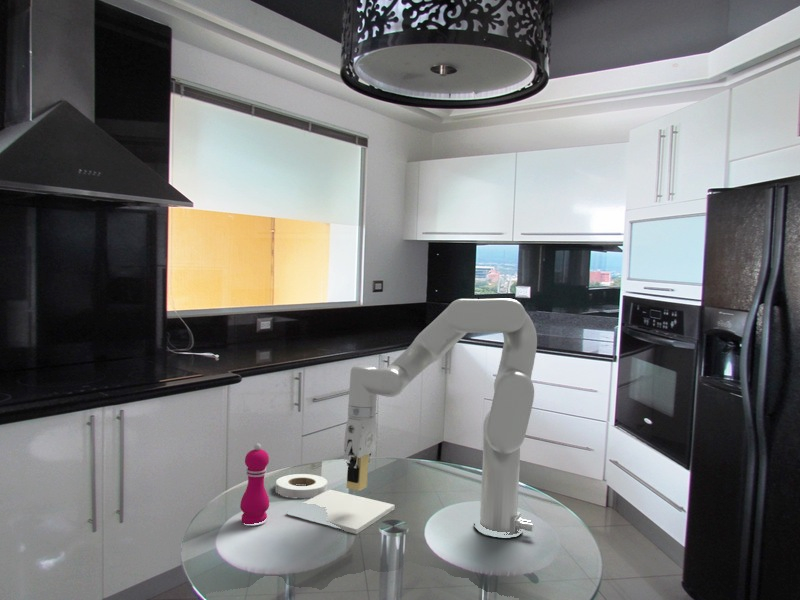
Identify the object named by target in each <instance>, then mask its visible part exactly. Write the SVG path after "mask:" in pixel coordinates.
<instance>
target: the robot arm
mask: <svg viewBox="0 0 800 600" xmlns="http://www.w3.org/2000/svg"><path fill="white" fill-rule="evenodd" d="M468 333H469V334H470V333H471V334H489V333H490V334H491V333H493V334H500V333H501V334H502V336H503V345H502V351H501V356H500V361H499V364H498V370H497V373H496V375H495V378H494V382H493V390H494V391H493V392H494V393H493V397H492V402H491V407H490V410H489V412H488V413H487V414H486V416H485V417H484V420H483V427H482V428H483V432H482V433H483V434H482V435H483V438H482V440H483V441H482V469H481V486H480V487H481V489H480V490H481V491H480V510H479V512H480V513H479V514H480V515H479V517H480V524H481V525H482V526H483V527H485V528H486V529H489V530H492V531H497V532H506V533H507V532H510V533H509V534H508V533H507V534H508V535H513V534H517V533H519V532H518V531H519V530H520V529H523V531H527V532H532V533H533V531H534V523H532V521H531V520H529V519H524V518H523V517H521V515H522V514H521V512H520V511H518V505H519V488H520V487H519V486H520V485H519V484H520V465H521V464H520V463H521V462H520V461H521V460H520V459H521V446H522V445H523V443H524V441H525V439H526V438H525V437H526V436H527V435H526V433H527V431H528V427H529V421H530V418H531V413H532V410H533V404H534V398H535V386H534V384H533V381H532V375H533V371H534V364H535V358H536V354H537V347H538V335H537V330H536V327H535V325H534V322H533V320H532V319H531V317H530V315H529V314H528V313H527V312H526V308H525V307H524V306H523V304H522V303H521V302H520V301H518V300H517V299H513V298H479V299H478V298H458V299H456V300H454V301H452V302H450V304H449V305H448V306H447V307H446V308H445V309H444V310H443V311H442V312H441V313H440V314H439V315H438V316H437V317H436V318H435V319H433V321H431V323H429V324H428V325H427V326H426V327H425V328H424V329H423V330H422V331H421V332H419V333H418V335H417V336H416V337H415V338H414V340H413V341H412V343H411V344H410V345H409V346H408V347H407V348H406V349H404V351H403V352H402V353H401V354H400V355H399V356H398V357H397V358H396V359H395V360H393V362H391V363H390V364H389V365H388V366H387V367H386V368H377V367H375V366H374V365H364V364H363V365H362V364H358V365H353V366H352V367H351V369H350V372H349V373H350V376H349V379H350V380H349V389H348V390H349V391H348V403H347V404H348V405H347V420H346V421H347V422H346V426H345V433H344V441H343V444H344V445H343V452H344V454H343V457H342V459H343V461H344V462H346V466H347V471H348V474H346V482H347V481H349V482H354V483H358V479H359V468H358V463H359V458H360V457H363V456H365V455H368V454H369V462H368V464H369V463H370V461H371V460H370V458H371V455H372V453H374V452H375V451H376V450H377V446H378V445H377V443H378V441H377V440H378V438H377V437H378V436H377V435H378V431H377V430H378V424H377V416H376V415H377V396H382V397H385V398H386V397H387V398H394V397H397V396H398V395H400V394H401V393H402V392H403V391H404V389H405V388H406V387H407V386H408V385H410V383H411V382H412V381H414V379H416V378H417V377H418V375H420V374H421V373H423V371H424V370H426V368H428V367H429V366H430V365H432V364H434V363H436V362H437V361H439V360H440V359H441V358H442V357H443V356H444V355H445V354H446V353H447V352H448V351H450V350H451V349H452V348H453V347H454V346H455V345H456V344H457V343H458V342H459V341H460V340H461V339H462V338H464V337H465V336H466V335H467V334H468ZM352 453H354V455H353V454H352ZM352 457H353V458H355V461H354V460H353V459H352ZM517 530H518V531H517ZM520 531H521V530H520ZM507 534H506V535H507ZM504 535H505V534H504Z"/></svg>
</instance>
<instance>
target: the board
mask: <svg viewBox="0 0 800 600" xmlns="http://www.w3.org/2000/svg"><path fill="white" fill-rule="evenodd" d="M302 503H307V504H316V505H318V506H320V507H326V508H325V509H327V510H326V512H327V513H328V514H327V515H328V517H326V518H327V519H326V520H327V522H330V523H332V524H334V525H336V526H338V527H340V528H341V529H343V530H344V531H343V530H342V531H343V532H347V533H351V534H355V535H358V534H359V533H361V532H362V531H364V530H365V529H367V528H368V527H370V526H371V525H374V523H376V522H377V521H379V520H380V519H382V518H384V517H385V516H387V515H388V514H389V513H391V512H392V511H394V510H395V504H393V503H388V502H385V501H380V500H376V499H372V498H368V497H363V496H358V495H355V494H352V493H351V494H350V493H346V492H342V491H338V490H333V489H327V491H326V492H324V493H321V494H319V495H317V496H315V497H313V498H308V499H307V500H305V501H303V502H302ZM326 520H325V521H326Z"/></svg>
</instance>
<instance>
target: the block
mask: <svg viewBox="0 0 800 600" xmlns="http://www.w3.org/2000/svg"><path fill="white" fill-rule="evenodd" d="M352 454H353V455H354V453H352ZM352 459H353V460H354V461H355V458H353V457H352ZM368 462H369V454H368V455H365V456H363V457H360V458H359V463H358V468H359V479H358V483H354V482H349V481H347V480H346V487H345V488H346V489H349V490H354V491H357V492H359V491H362V490H363V489H366V488H367V487H368V478H369V477H368V475H369V463H370V462H369V463H368ZM346 472H347V474H348V470H347V471H346ZM347 474H346V475H347Z"/></svg>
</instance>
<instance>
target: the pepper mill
mask: <svg viewBox="0 0 800 600" xmlns="http://www.w3.org/2000/svg"><path fill="white" fill-rule="evenodd" d="M253 448H254V449H251V450H250V451H248V452H247V454H246V455H245V458H244V464H245V466H246V467H247V468H246V473H245V474H246V476H247V486H246V488H245V492H244V493H243V495H242V496H241V500H240V505H239V506H240V507H239V508H240V510H241V511H242V514H241V520H240V521H241V524H242V523H245V524H254V523H259V522H262V521H264V520H265V519H266V518H267V517H268V513H267V510H269V507H270V499H269V494H268V492H267V490H266V488H265V476H266V475H267V466H268V464H269V463H270V456H269V454H268V451H266V450H264V449H261V448H262V445H261V444H260V443H256V444H254V446H253ZM267 519H268V518H267Z"/></svg>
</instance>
